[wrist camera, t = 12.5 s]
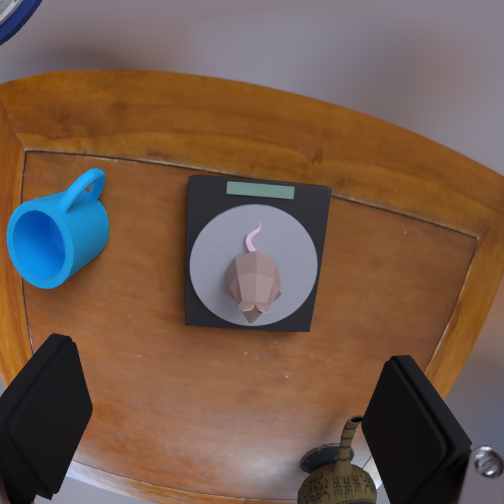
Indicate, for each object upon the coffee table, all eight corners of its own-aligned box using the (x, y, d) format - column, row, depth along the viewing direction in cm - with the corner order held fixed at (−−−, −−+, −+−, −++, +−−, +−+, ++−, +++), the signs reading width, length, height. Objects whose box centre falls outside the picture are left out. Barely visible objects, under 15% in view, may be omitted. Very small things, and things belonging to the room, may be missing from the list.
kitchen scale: (193, 174, 30) (187, 177, 27) (324, 185, 31) (333, 189, 28) (189, 313, 35) (184, 328, 31) (305, 320, 35) (310, 336, 32)
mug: (87, 275, 33) (52, 305, 25) (39, 230, 31) (-3, 250, 23) (144, 191, 30) (113, 204, 23) (89, 144, 29) (47, 144, 21)
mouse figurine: (288, 224, 29) (301, 244, 22) (276, 305, 31) (284, 342, 24) (230, 218, 28) (226, 236, 22) (222, 300, 31) (217, 337, 24)
